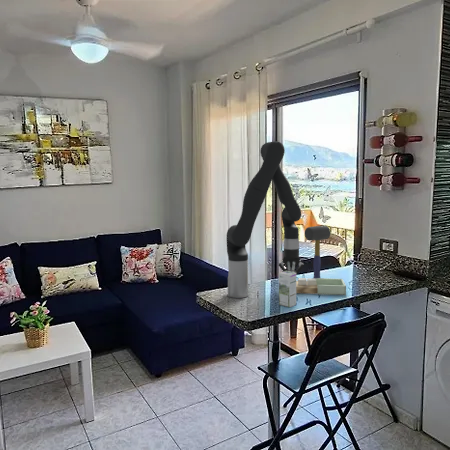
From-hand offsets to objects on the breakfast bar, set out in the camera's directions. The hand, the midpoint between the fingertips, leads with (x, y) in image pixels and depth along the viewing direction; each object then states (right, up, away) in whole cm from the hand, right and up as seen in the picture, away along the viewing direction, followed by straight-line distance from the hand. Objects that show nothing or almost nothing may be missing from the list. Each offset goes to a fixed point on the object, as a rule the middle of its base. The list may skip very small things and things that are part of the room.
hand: (291, 282), depth 209 cm
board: (+6, -4, -1) cm, 7 cm away
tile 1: (+5, -1, -1) cm, 5 cm away
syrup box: (-5, -7, -24) cm, 25 cm away
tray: (+19, -4, -2) cm, 19 cm away
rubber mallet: (+16, -2, +13) cm, 20 cm away
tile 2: (+10, -1, -1) cm, 10 cm away
